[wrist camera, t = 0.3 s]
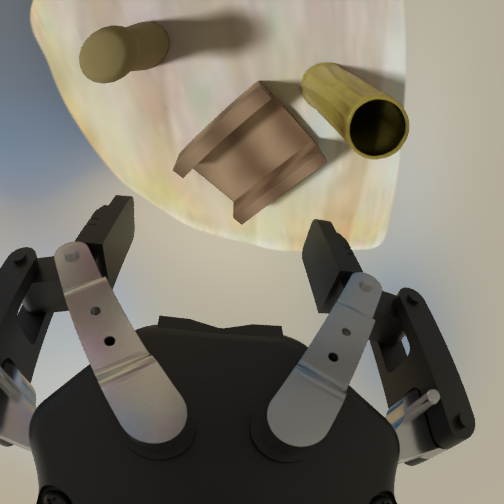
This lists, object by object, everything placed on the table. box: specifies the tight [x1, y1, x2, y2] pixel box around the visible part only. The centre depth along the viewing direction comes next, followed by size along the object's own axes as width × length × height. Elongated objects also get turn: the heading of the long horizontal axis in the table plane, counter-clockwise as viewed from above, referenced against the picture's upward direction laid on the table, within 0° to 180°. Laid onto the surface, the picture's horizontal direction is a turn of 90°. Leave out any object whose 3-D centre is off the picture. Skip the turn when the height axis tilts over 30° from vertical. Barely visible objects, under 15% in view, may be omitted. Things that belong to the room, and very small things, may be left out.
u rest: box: [173, 81, 327, 224], centre depth 31 cm, size 13×11×4 cm
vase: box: [301, 63, 409, 159], centre depth 23 cm, size 6×6×14 cm
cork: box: [79, 22, 169, 83], centre depth 19 cm, size 6×6×11 cm
